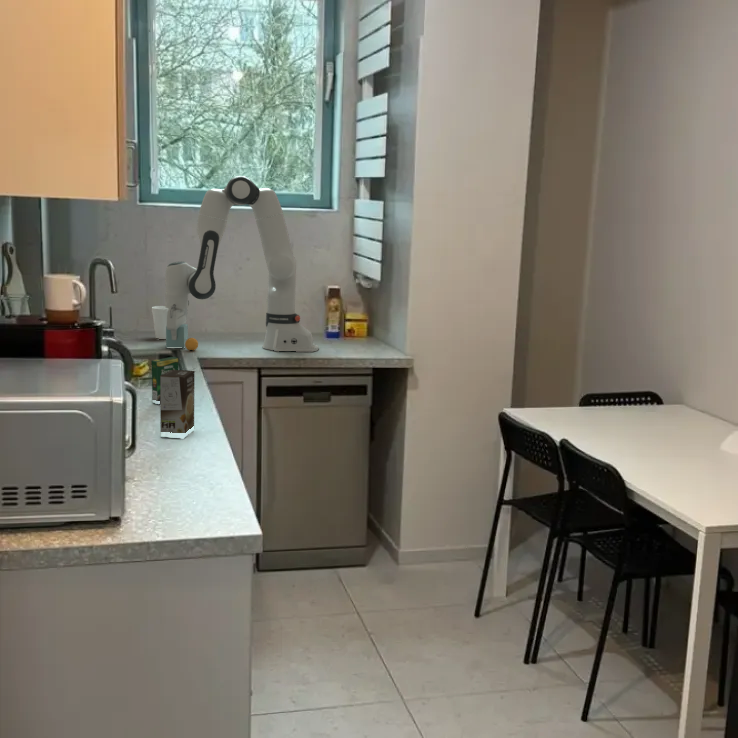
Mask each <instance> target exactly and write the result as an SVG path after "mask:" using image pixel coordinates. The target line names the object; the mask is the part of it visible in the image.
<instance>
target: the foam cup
mask: <svg viewBox="0 0 738 738" xmlns="http://www.w3.org/2000/svg"><path fill="white" fill-rule="evenodd" d="M168 310H169V308H166V307H165V305H155V306H152V307H151V314H152V321H153V327H154V334H155V339H156V338H159V339H166V326H167V312H168ZM159 339H158V340H159Z"/></svg>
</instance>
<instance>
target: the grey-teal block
mask: <svg viewBox="0 0 738 738" xmlns="http://www.w3.org/2000/svg"><path fill="white" fill-rule="evenodd" d="M188 329H189V324H188V323H187V324H186V323H185V324H183V325H181V326H180V327H179V328H178V329H177V339H176V340H172V335H171V330H168V329H167V326H166V340H165V348H166V347H182V348H184V347H186V346H185V342H186V340H187V339H189V333H188V332H189V330H188Z"/></svg>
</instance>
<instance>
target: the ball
mask: <svg viewBox="0 0 738 738" xmlns="http://www.w3.org/2000/svg"><path fill="white" fill-rule="evenodd" d="M185 346H186V348H185V349H187V350H188V351H190V350H193V351H195V350H196V349H198V347H199V342H198V340H197V339H196V338H194V337H190V338H189V337H188V339H187V340H186V342H185Z"/></svg>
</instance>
